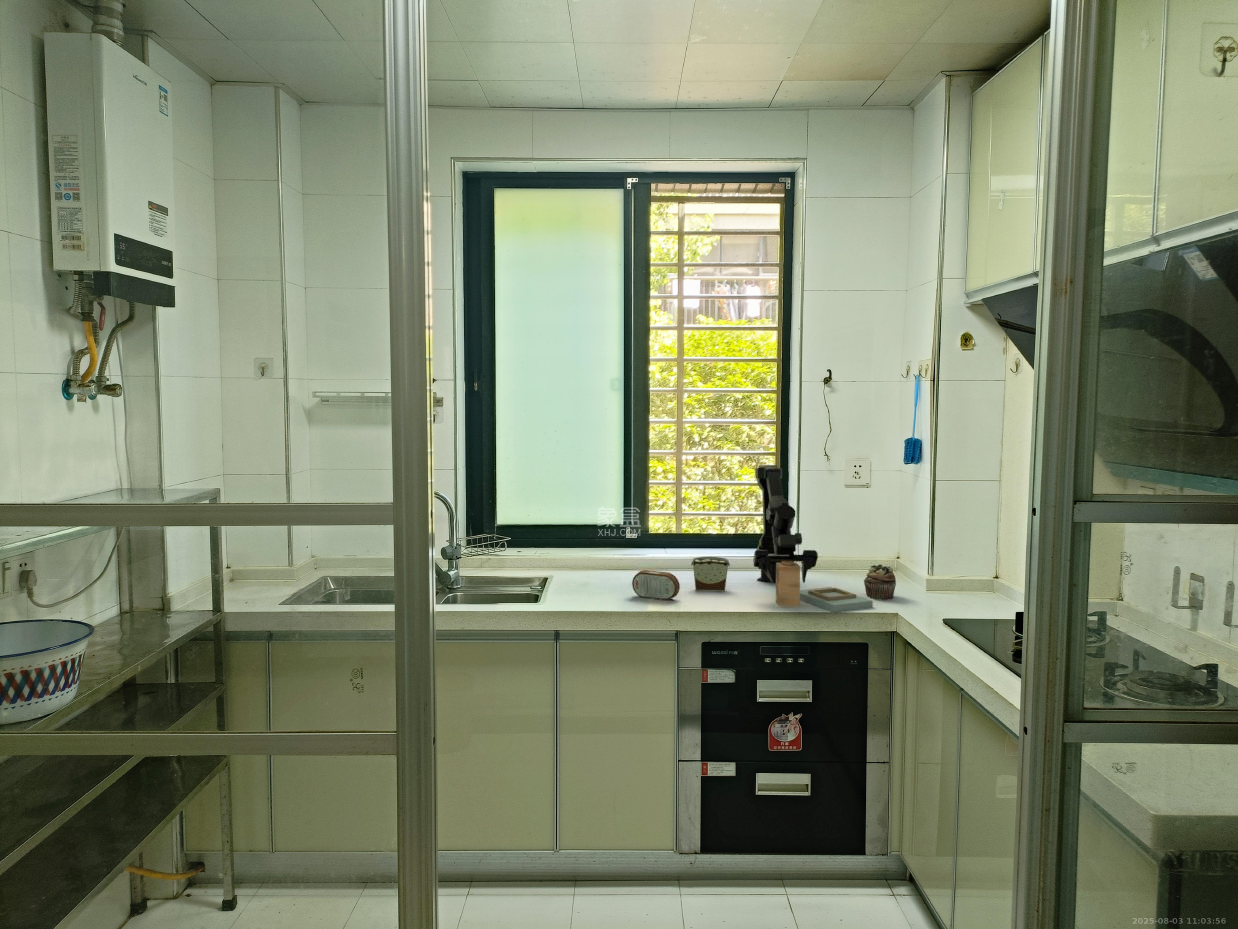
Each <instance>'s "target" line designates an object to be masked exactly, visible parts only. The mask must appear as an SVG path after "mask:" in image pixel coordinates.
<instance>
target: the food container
mask: <svg viewBox="0 0 1238 929" xmlns="http://www.w3.org/2000/svg"><path fill="white" fill-rule="evenodd" d="M690 565H691V567H693V578H694V587H695V591H700V592H701V591H705V592H706V591H707V592H709V591H710V592H725V591H726V586H727V576H728V568H730V567H731V565H730V562H729V559H728V558H725V557H720V556H719V557H718V556H699V557H694V558H692V561H691V564H690Z"/></svg>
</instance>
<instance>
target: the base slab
mask: <svg viewBox="0 0 1238 929" xmlns="http://www.w3.org/2000/svg"><path fill="white" fill-rule="evenodd" d="M800 599H801V600H800V601H802V600H804V601H803V602H805V603H808V604H810V603H811V605H814V606H816V607H818V606H819V608H821V607H822V608H821V609H823V610H827V611H829V610H830V611H829V612H832V613H837V612H843V611H844V612H846V611H854V610H853V609H855V610H861V609H862V610H863V609H870V608H871V609H872V608H873V607H874V605H873V604H874V600H871V599H870V598H867V597H862V596H860V595H857V594H856V593H853V592H849V591H847V590H844V589H841V588H837V587H832V586H828V587H827V586H825V587H816V588H807V589H800ZM845 610H846V611H845Z"/></svg>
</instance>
